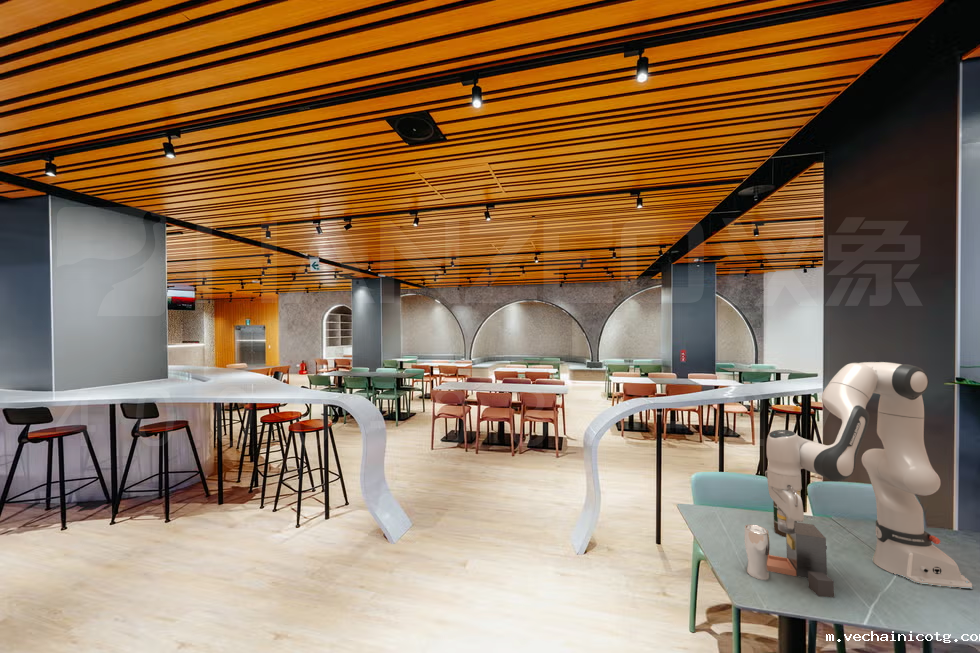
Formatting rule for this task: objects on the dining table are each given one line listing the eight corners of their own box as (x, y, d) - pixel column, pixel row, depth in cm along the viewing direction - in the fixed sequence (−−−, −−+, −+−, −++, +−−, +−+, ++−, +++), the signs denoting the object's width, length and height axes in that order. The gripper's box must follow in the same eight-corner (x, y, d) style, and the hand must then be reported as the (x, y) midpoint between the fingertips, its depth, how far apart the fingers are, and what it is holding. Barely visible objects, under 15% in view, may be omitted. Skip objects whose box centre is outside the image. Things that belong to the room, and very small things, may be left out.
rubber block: (823, 588, 121) (823, 572, 121) (834, 597, 117) (833, 581, 117) (808, 587, 121) (808, 571, 122) (818, 596, 117) (817, 579, 117)
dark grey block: (816, 565, 133) (815, 524, 134) (829, 582, 124) (827, 538, 124) (785, 560, 136) (784, 520, 137) (795, 576, 127) (794, 533, 128)
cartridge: (792, 528, 127) (791, 510, 127) (797, 535, 122) (796, 516, 123) (775, 526, 128) (774, 508, 129) (780, 532, 124) (779, 513, 124)
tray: (788, 563, 134) (788, 558, 135) (796, 576, 127) (796, 570, 127) (761, 558, 137) (760, 553, 138) (767, 570, 130) (767, 565, 130)
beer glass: (763, 583, 123) (762, 536, 124) (740, 571, 130) (739, 526, 130) (774, 577, 127) (773, 531, 127) (752, 566, 133) (751, 522, 133)
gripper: (809, 493, 115) (811, 540, 115) (784, 471, 134) (786, 511, 134) (783, 491, 117) (786, 536, 117) (763, 470, 137) (765, 509, 136)
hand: (786, 523), depth 125 cm, fingers closed on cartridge, 5 cm apart
